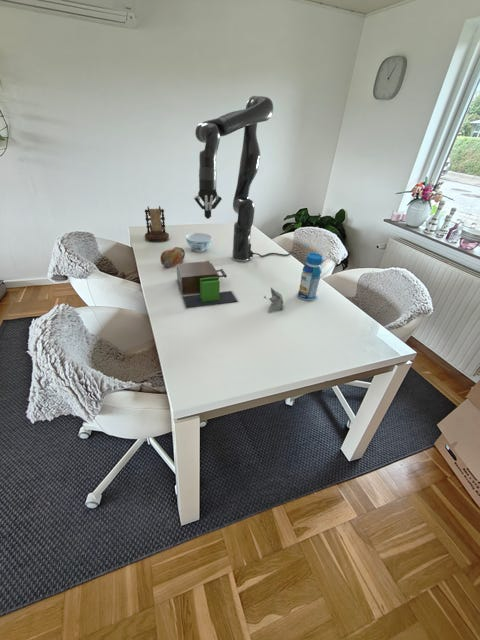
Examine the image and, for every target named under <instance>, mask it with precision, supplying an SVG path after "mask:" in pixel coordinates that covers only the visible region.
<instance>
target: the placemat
mask: <svg viewBox="0 0 480 640" xmlns="http://www.w3.org/2000/svg"><path fill="white" fill-rule="evenodd" d="M182 298H183V301H184V304H185V307H186V308H187V309H188V308H195V307H205V306H212V305H213V306H214V305H220V304H230V303H236V302H238V300H237V298H236V296H235V295H234V293H233V292H232V291H230V290H229V291H221V292H220V291H219V300H215V301H207V302H202V300H201V298H200V294H191V295H184V296H182Z"/></svg>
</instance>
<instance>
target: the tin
mask: <svg viewBox="0 0 480 640" xmlns="http://www.w3.org/2000/svg"><path fill="white" fill-rule="evenodd" d="M185 256H186V253H185V250H184V249H183V248H182V247H179V246H176V247H172V248H169V249H166V250H164V251H162V253H161V254H160V256H159V257H160V258H159V259H160V263H161V265H162V266H164V267H166V268H171V267H174V266H177V265H176V264H179V263H183V261H184V259H185Z"/></svg>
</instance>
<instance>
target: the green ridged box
mask: <svg viewBox="0 0 480 640" xmlns="http://www.w3.org/2000/svg"><path fill="white" fill-rule="evenodd" d="M220 281H221V280H220V277H209V278H201V279H200V293H199V295H200V298H201V300H202V302H207V301H215V300H219V292H220V288H221V287H220V285H221V284H220V283H221V282H220Z"/></svg>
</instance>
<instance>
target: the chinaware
mask: <svg viewBox="0 0 480 640" xmlns="http://www.w3.org/2000/svg"><path fill="white" fill-rule="evenodd" d="M212 238H213V237H212V235H211V234H209V233H205V232H204V233H203V232H192V233H189V234H187V235H186V236H185V239H186V242H187V245H188V246H189V247H190V248H191V249H193V251H194V252H197V253H202V252H204V251H205V250H206V249H207V248H208V247H209V246H210V245H211V243H212Z"/></svg>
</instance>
